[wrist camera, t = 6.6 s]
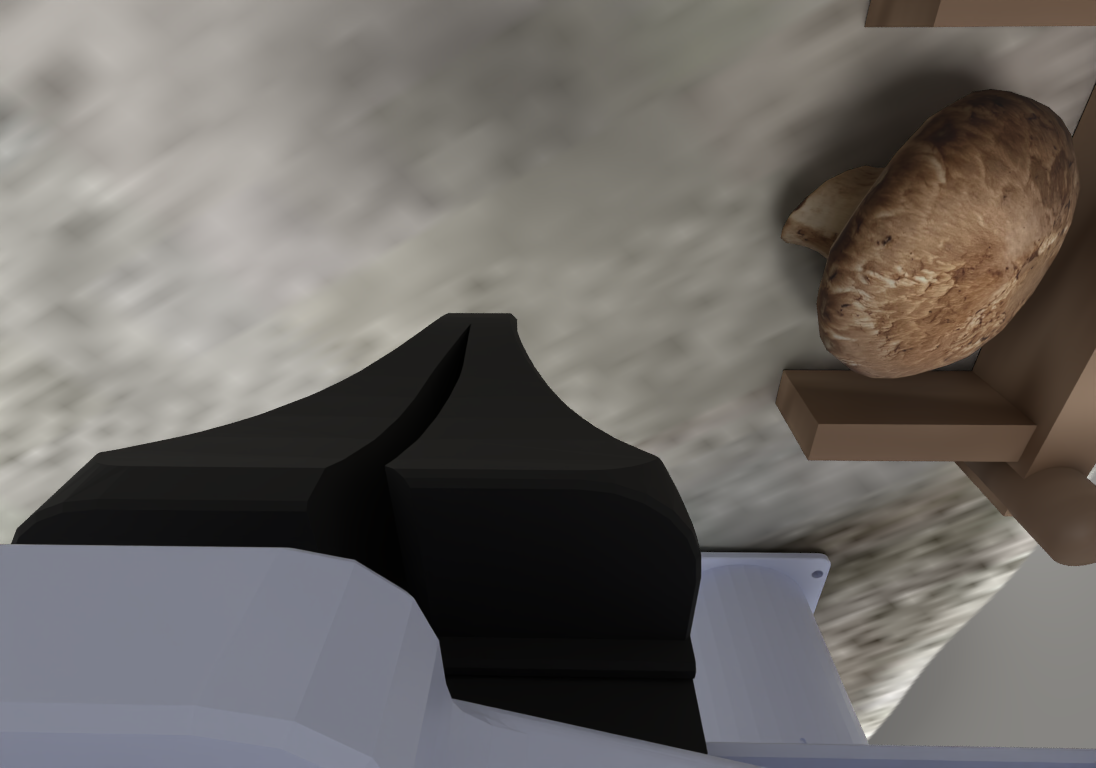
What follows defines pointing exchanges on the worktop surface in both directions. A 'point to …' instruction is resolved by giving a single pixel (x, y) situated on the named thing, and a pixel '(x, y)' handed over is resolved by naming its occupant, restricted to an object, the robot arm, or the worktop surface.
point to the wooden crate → (990, 357)
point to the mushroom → (940, 235)
